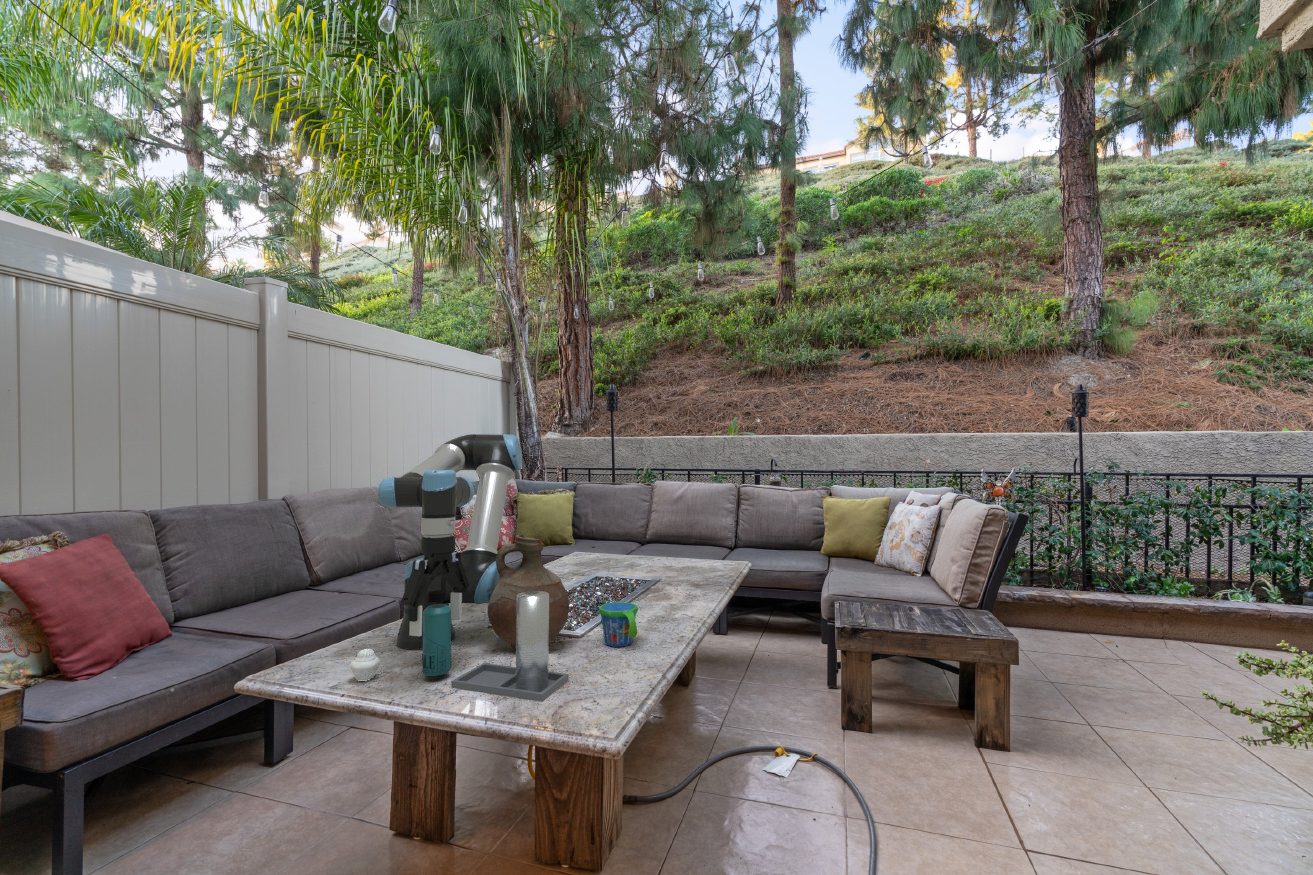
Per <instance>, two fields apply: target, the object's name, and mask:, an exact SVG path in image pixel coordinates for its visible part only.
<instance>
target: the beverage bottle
mask: <svg viewBox="0 0 1313 875" xmlns="http://www.w3.org/2000/svg"><path fill="white" fill-rule="evenodd" d="M445 600H447V596H446V591H444V590H436V591H431V592H429V594H428V602H442V601H445ZM422 626H423V627H422V630H423V631H422V632H423V634H422V635H423V649H422V653H421V665H422V668H421V669H422V673H423V675H425V676H428V677H436V676H437V677H438V676H442V675H445V674H447V673H449V672H450V671H451V668H452V662H453V661H452V651H453V650H452V642H453V641H452V642H451V640H452V639H451V608H450V605H449V606H448V605H446V604H434V605H430V606H428V607H427V608H426V609H425V610H424V611H423V625H422Z"/></svg>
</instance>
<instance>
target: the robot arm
mask: <svg viewBox="0 0 1313 875" xmlns="http://www.w3.org/2000/svg"><path fill="white" fill-rule="evenodd" d="M522 456H523V454H522V448H521V444H520V440H519V438H518V437H517V436H516V435H514V434H505V433H502V434H490V433H489V434H484V433H483V434H482V433H481V434H473V433H470V434H465V435H460V436H458V437H455V438H453V439H450V440H448V441H446V442H445V443H443V444H441V445H440V446H438V447H437V448H436V450H435V451H434V453H433V454H432V455H431V456H428V457H427V459H425V460H423V461H422V462H421V463H419V464H418V465H416V466H414V467H413V468H412V469H410V470H409V471H407V472H406V473H404V474H403V475H401V476H399V477H396V476H393V477H385V478H383V479H382V480H381V481H380V483H379V485H378V487H377V497H378V501H379V503H380V504H381V506H383V507H386V508H395V509H398V508H421V523H420V524H421V528H420V533H421V535H422V537H421V539H420V552H421V554H423V555H424V556H423V557H421V558H416V559H414V560H411V561H409V562H408V563H406V565H405V569H404V578H403V580H404V581H403V582H404V583H403V584H404V587H403V590H404V591H403V595H402V598H401V601H400V605H402V606H403V607H404V608H403V617H402V619H401V620H402V621H401V624H400V626H399V630H398V632H397V635H396V646H397V647H398V648H400V649H405V650H423V635H422V634H423V632H422V631H423V630H422V627H423V626H422V625H423V611H424V610H425V609H426V608H427V607H428V606H430V605H434V604H446V605H448V606H449V607H450V608H451V639H452V640H451V642H453V641H454V640H455V638H456V630H455V627H454V625H453V621H462V607H463V604H476V605H481V604H489V600H490V597H491V595H492V592H493V590H494V589H495V587H496V585H497V583H498V581H499V573H498V570H497V566H496V556H497V553H498V547H499V546H498V545H499V539H500V534H501V533H500V532H501V528H502V520H503V515H504V509H505V502H506V496H507V490H508V484H509V481H511V480H512V479H513V478H514V477H515V472H518V471H521V470H522V466H523V457H522ZM460 471H476V474H477V475H478V477H479V481H478V486H477V491H476V494H475V488H474V485H473V483H472V482H471V481H470V480H469V479H467V478H466V477H461V476H457V473H458V472H460ZM474 495H476V497H475V501H474V506H473V511H472V512H473V513H472V518H471V522H470V528H469V531H468V532H469V534H468V537H467V543H466V548H464V549H462V550H461V551H460V552H457V551H456V536H455V535H453V534H456V516H457V514H456V512H457V508H461V507H463V506H465V505H467V504H469V503H470V502H471V501H472V500H473V498H474ZM455 551H456V552H455ZM436 590H444V591H446V596H447V600H445V601H442V602H428V594H429V592H431V591H436Z"/></svg>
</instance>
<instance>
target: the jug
mask: <svg viewBox="0 0 1313 875" xmlns="http://www.w3.org/2000/svg"><path fill="white" fill-rule="evenodd" d="M545 546H546V545H545V543H543V540H542V539H540V538H534V537H528V536H524V535H523V534H517V535H515V542H514V543H509V544H504V545H503V546H502V547H500V548H499V549H498V550H497V552H498V553H497V556H496V566H497V570H498V573H499V581H498V583H497V585H496V587H495V589H494V590H493V592H492V595H491V597H490V600H489V603H487V618H488V620H489V624H490V626H491V629H492V631H494V632H495V634H496V635H497V636H498V637H499V638H500V639H501V640H503V642H505V643H507V644H509V645H510V648H511V647H512V648H514V649H516V604H517V594H519V593H522V592H528V591H544V592H548V593H549V642H551V641H552V640H553V639H555V638H556V637H557V635H559V633H561V631H562V630H563V628H564V627H565V624H566V622H567V619H568V617H569V613H570V601H569V596H568V593H567V590H566V588H565V586H564V584H563V582H562V579H561V578H560V577H559V576H558V575H557V574H556V573H554V572H552V570H550V569H548V568H546V567H545V566H544V563H543V559H542V558H543V557H542V551H543V550H544V548H545ZM513 552H519V553H521V555H522V558H521V562H520V565H519V566H518V567H515V568H511V567H509V566H508V565H506V561H505V560H506V555H508V554H510V553H513Z"/></svg>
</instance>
